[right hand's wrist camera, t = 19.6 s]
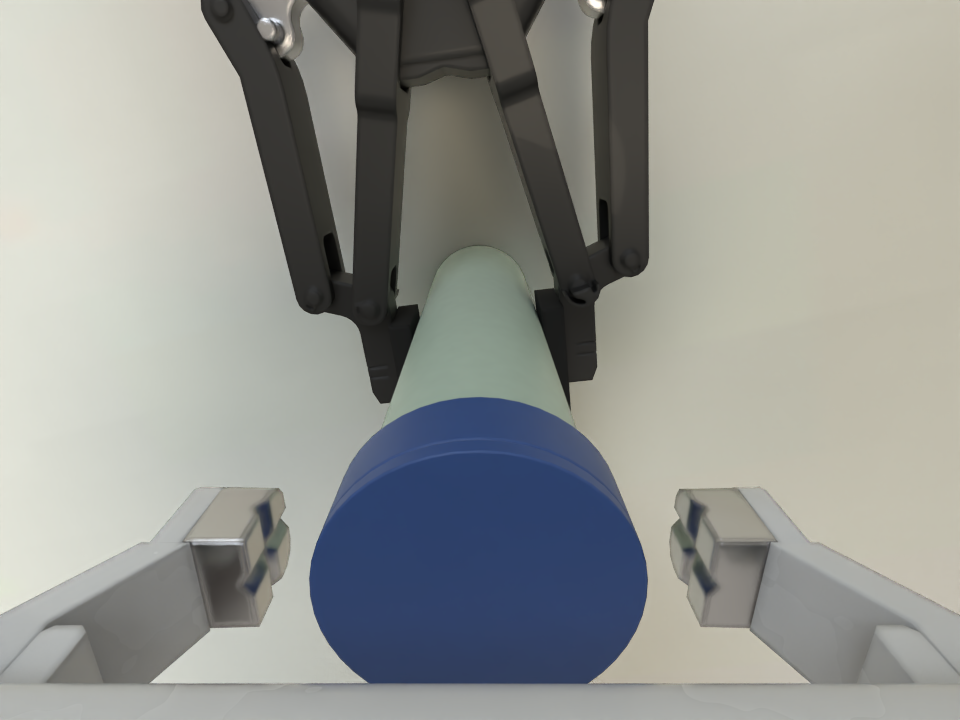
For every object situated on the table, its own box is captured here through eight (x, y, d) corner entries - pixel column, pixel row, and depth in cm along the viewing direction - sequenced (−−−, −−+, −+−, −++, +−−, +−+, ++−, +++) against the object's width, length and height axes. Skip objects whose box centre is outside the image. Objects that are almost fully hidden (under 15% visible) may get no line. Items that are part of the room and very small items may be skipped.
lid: (587, 641, 11) (607, 729, 10) (331, 614, 11) (304, 700, 9) (651, 416, 9) (689, 474, 8) (344, 377, 9) (313, 430, 7)
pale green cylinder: (444, 234, 26) (370, 415, 8) (538, 259, 26) (655, 481, 9) (422, 324, 27) (322, 636, 10) (511, 347, 28) (565, 682, 10)
